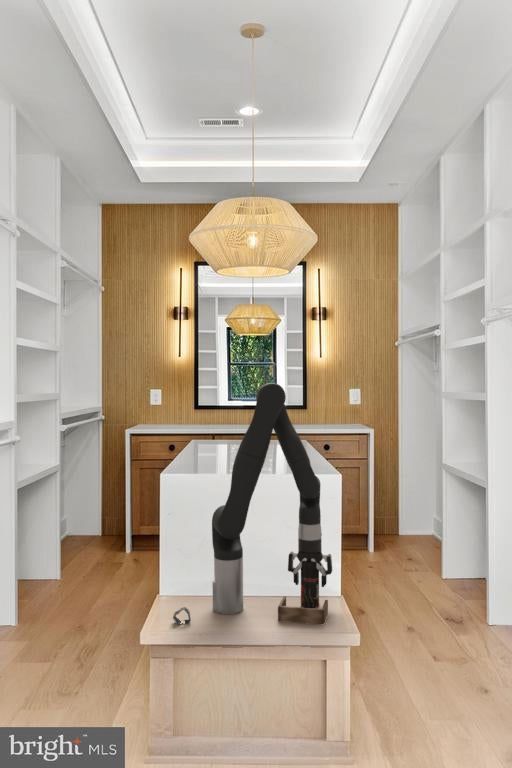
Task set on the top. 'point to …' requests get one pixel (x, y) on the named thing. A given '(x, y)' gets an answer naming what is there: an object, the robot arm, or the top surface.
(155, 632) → the top surface
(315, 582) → the deodorant
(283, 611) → the wooden u-shaped frame
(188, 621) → the wristwatch
